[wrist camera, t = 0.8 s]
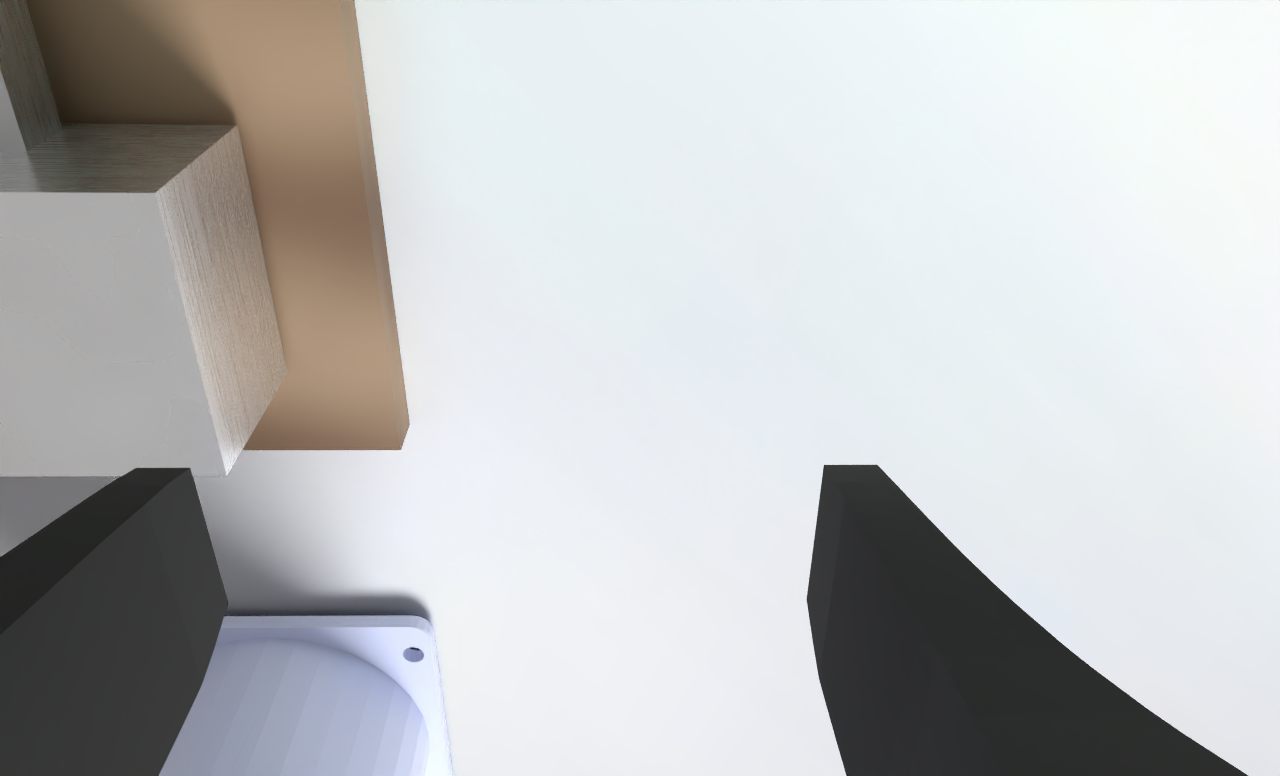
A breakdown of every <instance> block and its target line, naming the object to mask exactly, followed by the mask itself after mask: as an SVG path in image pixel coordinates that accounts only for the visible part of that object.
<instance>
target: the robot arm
mask: <svg viewBox="0 0 1280 776" xmlns="http://www.w3.org/2000/svg"><path fill="white" fill-rule="evenodd" d="M807 604H808V611H809V618H810V625H811V631H812V638H813V645H814V651H815V657H816V663H817V669H818V675H819V680H820V683H821V687H822V691H823V694H824V698H825V702H826V705H827V709H828V712H829V716H830V719H831V723H832V726H833V730H834V734H835V737H836V741H837V744H838V748H839V751H840V755H841V758H842V761H843V765H844V768H845V772H846V775H847V776H1248V775H1246V774H1245V773H1243V772H1242V771H1240V770H1239V769H1237V768H1236V767H1234V766H1232V765H1231V764H1229V763H1228V762H1226V761H1225V760H1223V759H1222V758H1220V757H1218V756H1217V755H1215V754H1214V753H1212V752H1211V751H1209V750H1208V749H1206V748H1205V747H1203V746H1201V745H1200V744H1198V743H1197V742H1195V741H1194V740H1192V739H1191V738H1189V737H1187V736H1186V735H1184V734H1183V733H1181V732H1180V731H1178V730H1177V729H1176V728H1174V727H1173V726H1171V725H1170V724H1168V723H1167V722H1165V721H1164V720H1162V719H1161V718H1160V717H1158V716H1157V715H1155V714H1154V713H1152V712H1151V711H1149V710H1148V709H1147V708H1145V707H1144V706H1143V705H1141V704H1140V703H1139V702H1137V701H1136V700H1134V699H1133V698H1132V697H1130V696H1129V695H1128V694H1126V693H1125V692H1124V691H1122V690H1121V689H1120V688H1118V687H1117V686H1116V685H1114V684H1113V683H1112V682H1110V681H1109V680H1108V679H1106V678H1105V677H1104V676H1102V675H1101V674H1100V673H1098V672H1097V671H1096V670H1094V669H1093V668H1092V667H1090V666H1089V665H1088V664H1086V663H1085V662H1084V661H1083V660H1081V659H1080V658H1079V657H1078V656H1076V655H1075V654H1074V653H1073V652H1071V651H1070V650H1069V649H1068V648H1066V647H1065V646H1064V645H1063V644H1062V643H1060V642H1059V641H1058V640H1057V639H1056V638H1055V637H1053V636H1052V635H1051V634H1050V633H1049V632H1048V631H1046V630H1045V629H1044V628H1043V627H1042V626H1041V625H1040V624H1038V623H1037V622H1036V621H1035V620H1034V619H1033V618H1031V617H1030V616H1029V615H1028V614H1027V613H1026V612H1024V611H1023V610H1022V609H1021V608H1020V607H1019V606H1018V605H1016V604H1015V603H1014V602H1013V601H1012V600H1011V599H1010V598H1009V597H1008V596H1007V595H1006V594H1004V593H1003V592H1002V591H1001V590H1000V589H999V588H998V587H997V586H996V585H995V584H994V583H992V582H991V581H990V580H989V579H988V578H987V577H986V576H985V575H984V574H983V573H982V572H981V571H980V570H979V569H978V568H977V567H976V566H975V565H974V564H973V563H972V562H971V561H970V560H969V559H968V558H967V557H966V556H965V555H963V554H962V553H961V552H960V550H959V549H958V548H957V547H956V546H955V545H954V544H953V543H952V542H951V541H950V540H949V539H948V538H947V537H946V536H945V535H944V534H943V533H942V532H941V531H940V530H939V529H938V528H937V527H936V526H935V525H934V524H933V523H932V522H931V521H930V520H929V519H928V518H927V517H926V516H925V515H924V513H923V512H922V511H921V510H920V509H919V508H918V507H917V506H916V505H915V504H914V503H913V502H912V501H911V500H910V499H909V498H908V497H907V496H906V495H905V493H904V492H903V491H902V490H901V489H900V488H899V487H898V486H897V485H896V484H895V483H894V482H893V481H892V480H891V479H890V478H889V477H888V476H887V475H886V474H885V473H884V471H883V470H882V469H881V468H880V467H879V466H878V465H824V469H823V477H822V485H821V492H820V500H819V508H818V516H817V524H816V531H815V539H814V547H813V555H812V563H811V570H810V578H809V586H808V594H807ZM227 605H228V601H227V598H226V594H225V590H224V587H223V583H222V580H221V576H220V572H219V569H218V565H217V562H216V558H215V555H214V551H213V547H212V544H211V540H210V537H209V533H208V529H207V526H206V522H205V519H204V515H203V512H202V508H201V504H200V501H199V497H198V494H197V490H196V486H195V483H194V479H193V476H192V472H191V469H190V468H135V469H133V470H132V471H130V472H128V473H126V474H125V475H123V476H121V477H120V478H118V479H116V480H115V481H113V482H112V483H110V484H108V485H107V486H105V487H104V488H102V489H101V490H99V491H98V492H96V493H95V494H93V495H92V496H90V497H89V498H87V499H86V500H84V501H83V502H81V503H80V504H78V505H77V506H75V507H74V508H72V509H71V510H69V511H68V512H66V513H65V514H63V515H62V516H60V517H59V518H58V519H56V520H55V521H53V522H52V523H50V524H49V525H47V526H46V527H44V528H43V529H41V530H40V531H39V532H37V533H36V534H34V535H33V536H31V537H30V538H28V539H27V540H25V541H24V542H22V543H21V544H19V545H18V546H16V547H15V548H13V549H12V550H10V551H9V552H8V553H6V554H5V555H3V556H2V557H0V776H453V771H452V764H451V756H450V749H449V741H448V734H447V726H446V719H445V711H444V703H443V696H442V688H441V681H440V673H439V666H438V658H437V651H436V643H435V635H434V629H433V627H432V624H431V623H429V622H428V621H427V620H426V619H424V618H422V617H420V616H413V615H391V616H224V615H225V612H226V609H227ZM410 647H415V648H419V649H420V650H418V651H416V650H412V649H410Z"/></svg>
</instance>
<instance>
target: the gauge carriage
mask: <svg viewBox="0 0 1280 776" xmlns="http://www.w3.org/2000/svg"><path fill="white" fill-rule="evenodd" d="M286 375H287V369H286V364H285V359H284V354H283V349H282V344H281V339H280V335H279V330H278V325H277V320H276V315H275V310H274V305H273V300H272V295H271V290H270V285H269V280H268V275H267V270H266V265H265V260H264V255H263V250H262V245H261V240H260V235H259V230H258V225H257V220H256V215H255V210H254V205H253V200H252V195H251V190H250V185H249V180H248V175H247V170H246V165H245V160H244V155H243V150H242V145H241V140H240V135H239V130H238V125H206V124H61V120H60V117H59V113H58V110H57V107H56V103H55V100H54V96H53V93H52V90H51V86H50V83H49V79H48V76H47V73H46V69H45V66H44V62H43V59H42V56H41V52H40V49H39V45H38V42H37V39H36V35H35V32H34V28H33V25H32V22H31V18H30V15H29V11H28V8H27V4H26V1H25V0H0V477H28V476H123V475H125V474H126V473H128V472H130V471H132V470H133V469H135V468H190V469H191V472H192V476H227V475H228V473H229V472H230V470H231V468H232V467H233V465H234V463H235V461H236V460H237V458H238V456H239V455H240V453H241V451H242V450H243V448H244V446H245V444H246V443H247V441H248V439H249V438H250V436H251V434H252V433H253V431H254V429H255V427H256V426H257V424H258V422H259V421H260V419H261V417H262V415H263V414H264V412H265V410H266V409H267V407H268V405H269V404H270V402H271V400H272V398H273V397H274V395H275V393H276V392H277V390H278V388H279V387H280V385H281V383H282V381H283V380H284V378H285V376H286Z"/></svg>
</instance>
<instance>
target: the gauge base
mask: <svg viewBox="0 0 1280 776" xmlns="http://www.w3.org/2000/svg"><path fill="white" fill-rule="evenodd" d="M25 1H26V4H27V8H28V11H29V15H30V18H31V22H32V25H33V28H34V32H35V35H36V39H37V42H38V45H39V49H40V52H41V56H42V59H43V62H44V66H45V69H46V73H47V76H48V79H49V83H50V86H51V90H52V93H53V96H54V100H55V103H56V107H57V110H58V113H59V117H60V120H61V124H206V125H238V130H239V135H240V140H241V145H242V150H243V155H244V160H245V165H246V170H247V175H248V180H249V185H250V190H251V195H252V200H253V205H254V210H255V215H256V220H257V225H258V230H259V235H260V240H261V245H262V250H263V255H264V260H265V265H266V270H267V275H268V280H269V285H270V290H271V295H272V300H273V305H274V310H275V315H276V320H277V325H278V330H279V335H280V339H281V344H282V349H283V354H284V359H285V364H286V369H287V375H286V376H285V378H284V380H283V381H282V383H281V385H280V387H279V388H278V390H277V392H276V393H275V395H274V397H273V398H272V400H271V402H270V404H269V405H268V407H267V409H266V410H265V412H264V414H263V415H262V417H261V419H260V421H259V422H258V424H257V426H256V427H255V429H254V431H253V433H252V434H251V436H250V438H249V439H248V441H247V443H246V444H245V446H244V448H243V450H401V448H402V445H403V442H404V439H405V436H406V433H407V430H408V427H409V417H408V409H407V402H406V394H405V386H404V379H403V371H402V363H401V356H400V348H399V340H398V333H397V325H396V317H395V310H394V302H393V294H392V287H391V279H390V271H389V264H388V256H387V248H386V241H385V233H384V225H383V218H382V210H381V202H380V195H379V187H378V179H377V172H376V164H375V157H374V149H373V141H372V134H371V126H370V118H369V111H368V103H367V95H366V88H365V80H364V72H363V65H362V57H361V49H360V42H359V34H358V26H357V19H356V11H355V3H354V0H25Z"/></svg>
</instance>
